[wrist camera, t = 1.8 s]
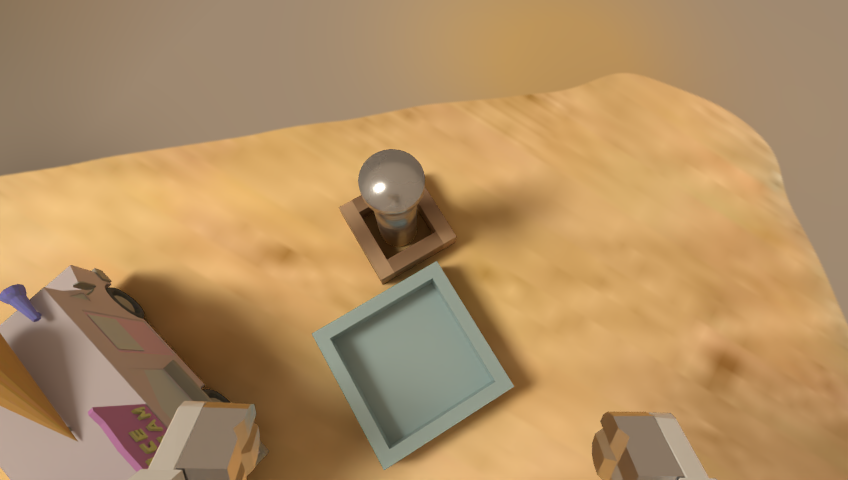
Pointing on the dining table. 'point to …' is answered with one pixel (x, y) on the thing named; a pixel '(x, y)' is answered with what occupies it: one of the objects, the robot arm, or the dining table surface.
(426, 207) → the collar
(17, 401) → the toy vehicle
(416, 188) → the pin
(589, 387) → the dining table surface
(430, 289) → the tray
